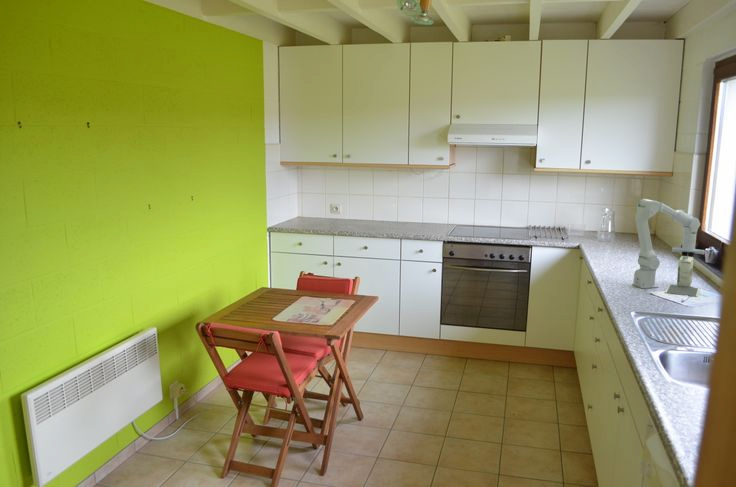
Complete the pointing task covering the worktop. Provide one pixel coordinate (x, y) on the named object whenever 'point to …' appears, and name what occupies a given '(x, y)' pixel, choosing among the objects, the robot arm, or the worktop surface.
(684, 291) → the mat
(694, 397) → the worktop surface
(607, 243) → the worktop surface
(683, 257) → the syrup box
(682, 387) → the worktop surface
